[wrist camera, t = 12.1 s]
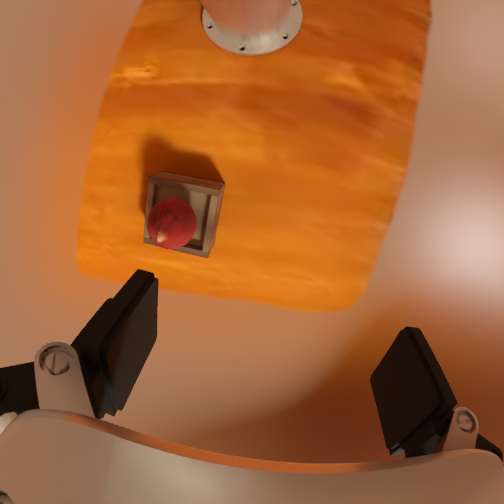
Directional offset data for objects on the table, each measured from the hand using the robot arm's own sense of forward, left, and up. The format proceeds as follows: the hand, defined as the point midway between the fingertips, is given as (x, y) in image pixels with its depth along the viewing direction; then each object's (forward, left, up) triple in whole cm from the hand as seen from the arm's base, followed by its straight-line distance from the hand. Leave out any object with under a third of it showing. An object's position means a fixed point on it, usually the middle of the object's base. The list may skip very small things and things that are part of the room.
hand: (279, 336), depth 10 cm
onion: (+6, -11, -26) cm, 28 cm away
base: (+6, -11, -28) cm, 31 cm away
